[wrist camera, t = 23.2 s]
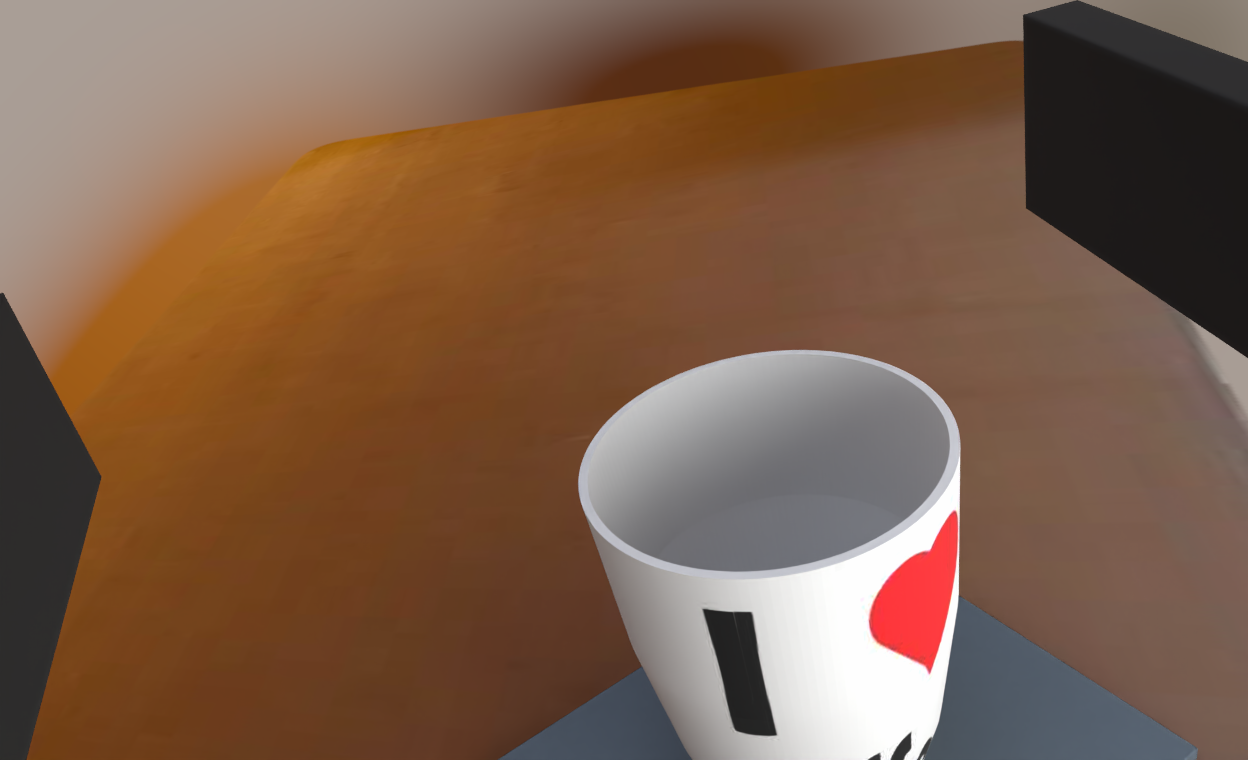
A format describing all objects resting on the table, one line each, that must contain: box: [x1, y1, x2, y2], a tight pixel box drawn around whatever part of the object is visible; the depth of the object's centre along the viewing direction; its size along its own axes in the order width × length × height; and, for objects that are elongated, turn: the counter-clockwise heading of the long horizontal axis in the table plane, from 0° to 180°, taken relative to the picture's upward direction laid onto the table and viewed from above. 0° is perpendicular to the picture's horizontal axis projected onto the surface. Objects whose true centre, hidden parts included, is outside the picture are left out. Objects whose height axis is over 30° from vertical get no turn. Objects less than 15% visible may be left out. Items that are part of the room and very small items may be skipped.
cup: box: [579, 350, 960, 760], centre depth 28 cm, size 8×8×10 cm
